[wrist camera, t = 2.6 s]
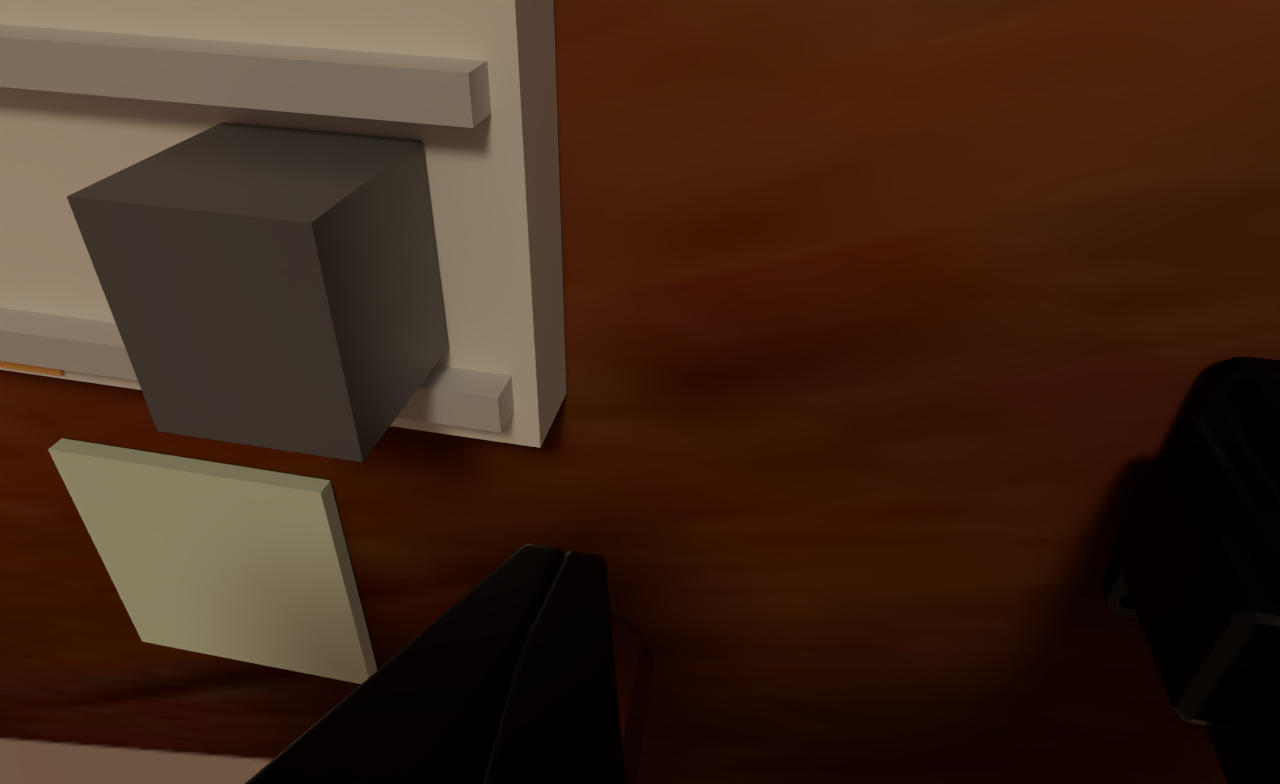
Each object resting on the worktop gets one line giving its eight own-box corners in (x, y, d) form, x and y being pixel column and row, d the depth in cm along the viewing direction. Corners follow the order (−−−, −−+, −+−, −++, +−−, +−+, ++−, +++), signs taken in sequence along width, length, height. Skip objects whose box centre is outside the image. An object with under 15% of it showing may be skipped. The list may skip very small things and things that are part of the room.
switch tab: (422, 140, 13) (311, 222, 11) (448, 348, 16) (362, 462, 13) (222, 121, 14) (66, 196, 11) (276, 326, 16) (157, 431, 13)
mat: (330, 480, 22) (320, 492, 21) (378, 672, 26) (370, 686, 26) (62, 438, 23) (48, 449, 22) (152, 629, 27) (142, 641, 27)
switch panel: (552, -22, 14) (496, 8, 11) (566, 393, 18) (528, 472, 16) (-240, -68, 16) (-418, -51, 14) (-47, 310, 21) (-155, 370, 19)
